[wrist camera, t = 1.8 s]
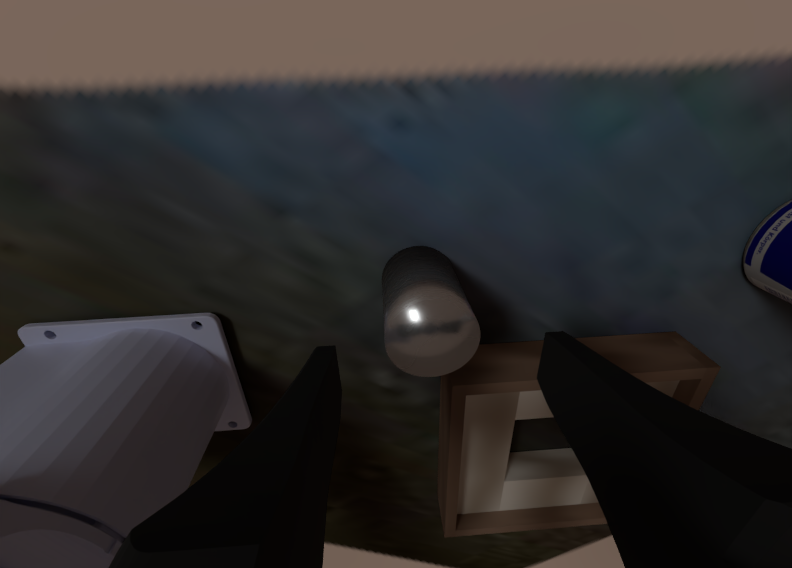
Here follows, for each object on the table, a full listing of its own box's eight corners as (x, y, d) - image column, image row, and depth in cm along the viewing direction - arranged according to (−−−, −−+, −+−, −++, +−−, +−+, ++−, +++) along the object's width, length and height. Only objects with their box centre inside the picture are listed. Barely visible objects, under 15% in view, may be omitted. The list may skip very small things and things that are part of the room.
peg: (383, 312, 19) (387, 380, 14) (379, 248, 17) (382, 302, 13) (452, 308, 19) (476, 373, 14) (455, 243, 17) (484, 296, 13)
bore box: (437, 492, 26) (444, 537, 24) (441, 347, 20) (452, 386, 17) (615, 478, 27) (642, 520, 24) (675, 331, 20) (720, 367, 18)
